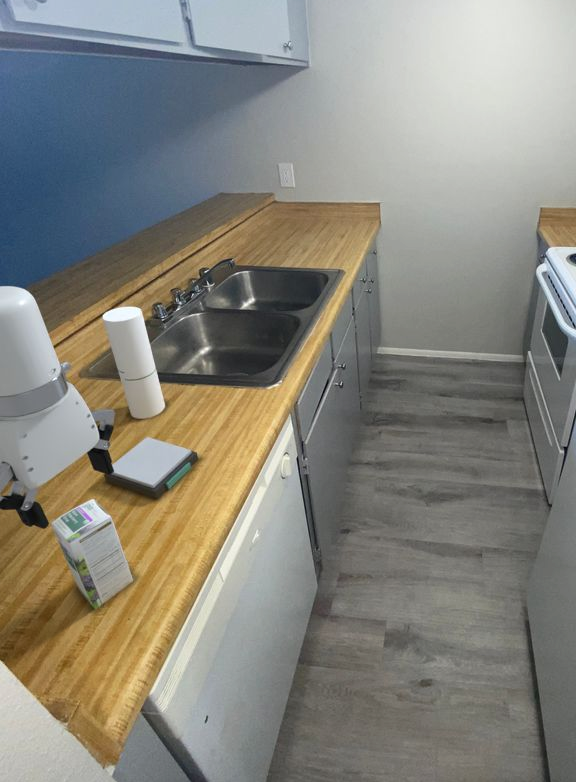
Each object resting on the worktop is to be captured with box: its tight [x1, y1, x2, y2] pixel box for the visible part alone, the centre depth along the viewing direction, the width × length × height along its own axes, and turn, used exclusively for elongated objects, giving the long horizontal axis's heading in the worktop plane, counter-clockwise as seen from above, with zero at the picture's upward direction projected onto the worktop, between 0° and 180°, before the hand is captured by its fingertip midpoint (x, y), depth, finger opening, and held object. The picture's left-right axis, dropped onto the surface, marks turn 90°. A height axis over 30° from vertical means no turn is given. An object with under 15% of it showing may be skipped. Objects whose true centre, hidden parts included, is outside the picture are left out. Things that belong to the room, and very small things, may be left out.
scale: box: [103, 436, 199, 500], centre depth 92 cm, size 12×11×3 cm
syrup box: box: [50, 498, 134, 610], centre depth 69 cm, size 6×6×14 cm
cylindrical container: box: [102, 306, 166, 420], centre depth 104 cm, size 7×7×25 cm
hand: (73, 496), depth 63 cm, fingers open, 9 cm apart
